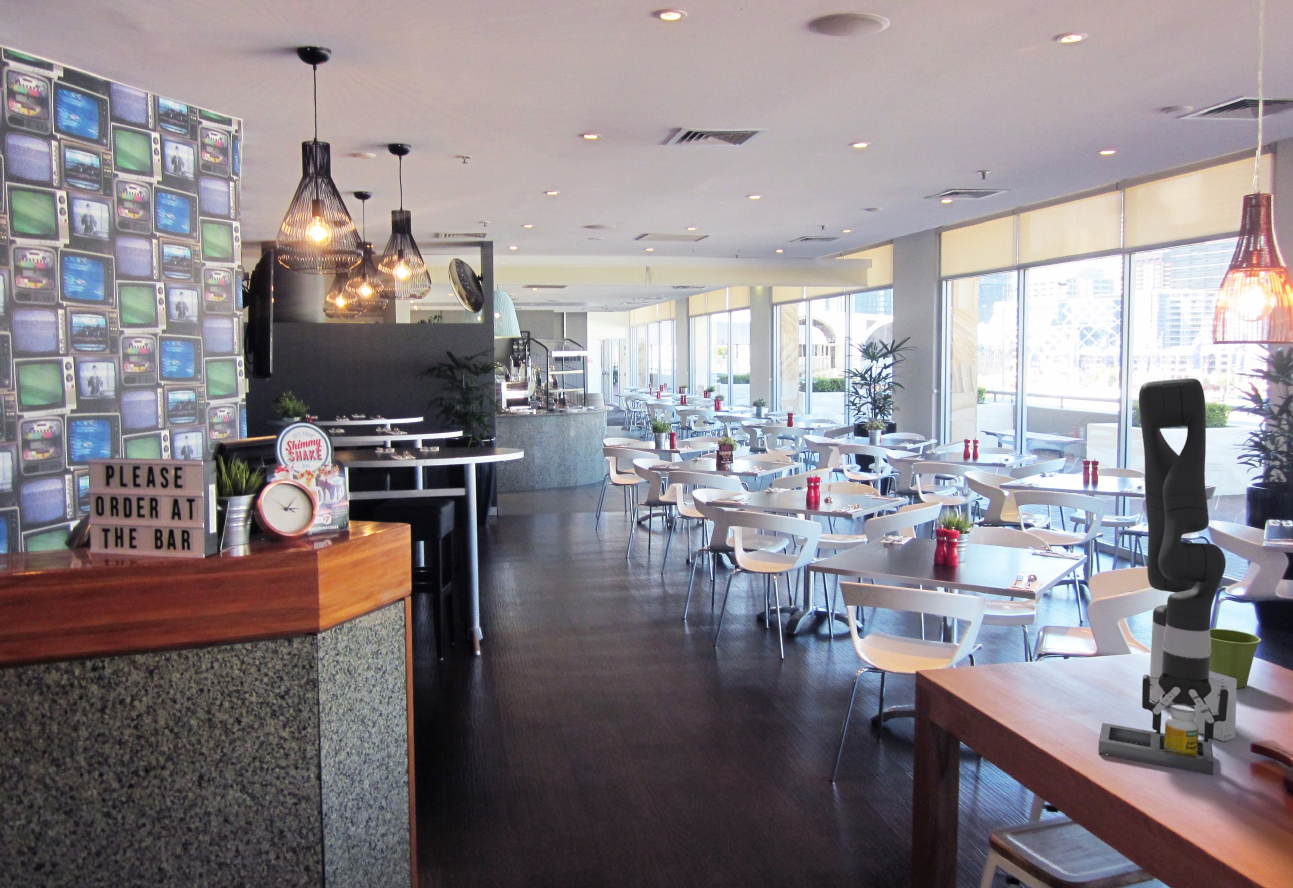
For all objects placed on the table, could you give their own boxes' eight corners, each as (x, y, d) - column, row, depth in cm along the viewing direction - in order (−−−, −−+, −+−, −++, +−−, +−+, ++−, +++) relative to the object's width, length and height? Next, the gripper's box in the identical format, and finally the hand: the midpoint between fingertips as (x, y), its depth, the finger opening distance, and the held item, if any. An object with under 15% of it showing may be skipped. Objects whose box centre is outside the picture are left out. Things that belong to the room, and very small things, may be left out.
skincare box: (1236, 738, 183) (1239, 678, 182) (1221, 742, 181) (1225, 681, 180) (1205, 727, 188) (1208, 668, 187) (1191, 731, 186) (1194, 672, 185)
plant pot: (1261, 682, 215) (1265, 634, 214) (1253, 696, 206) (1256, 646, 205) (1203, 670, 222) (1205, 624, 221) (1192, 684, 213) (1195, 636, 212)
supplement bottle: (1173, 750, 177) (1175, 701, 176) (1202, 760, 173) (1205, 710, 172) (1157, 756, 174) (1160, 707, 173) (1187, 767, 170) (1190, 716, 169)
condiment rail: (1101, 734, 184) (1102, 722, 184) (1210, 754, 175) (1211, 741, 175) (1098, 753, 176) (1098, 740, 176) (1212, 774, 167) (1213, 761, 167)
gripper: (1231, 650, 171) (1226, 736, 173) (1143, 638, 178) (1138, 722, 180) (1233, 661, 165) (1228, 751, 166) (1141, 649, 172) (1137, 735, 173)
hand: (1181, 736), depth 173 cm, fingers open, 7 cm apart
